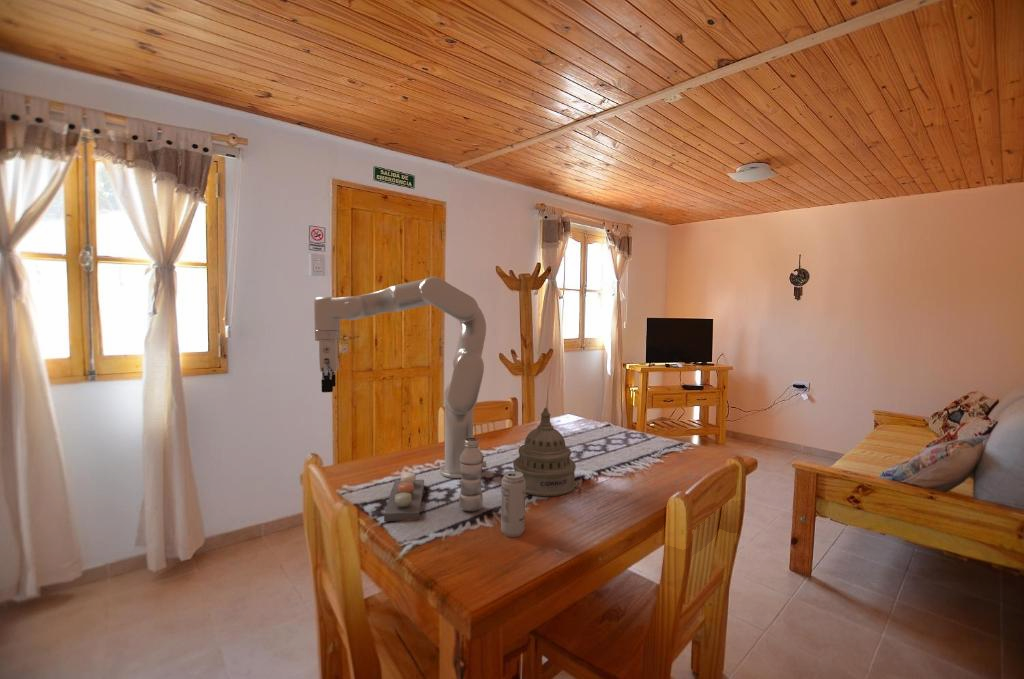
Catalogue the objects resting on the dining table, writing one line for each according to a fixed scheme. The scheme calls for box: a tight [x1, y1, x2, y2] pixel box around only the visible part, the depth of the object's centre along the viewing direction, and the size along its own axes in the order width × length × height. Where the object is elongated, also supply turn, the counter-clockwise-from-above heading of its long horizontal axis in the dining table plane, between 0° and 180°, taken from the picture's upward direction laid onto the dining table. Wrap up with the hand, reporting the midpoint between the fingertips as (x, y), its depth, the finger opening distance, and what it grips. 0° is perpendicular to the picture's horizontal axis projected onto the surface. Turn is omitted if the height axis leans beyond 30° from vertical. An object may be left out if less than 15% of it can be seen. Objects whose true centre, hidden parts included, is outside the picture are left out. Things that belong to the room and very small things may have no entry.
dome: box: [512, 407, 577, 497], centre depth 148 cm, size 20×25×20 cm
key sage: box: [395, 493, 411, 506], centre depth 126 cm, size 4×4×2 cm
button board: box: [383, 479, 425, 522], centre depth 134 cm, size 9×23×2 cm, turn 7°
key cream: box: [400, 472, 417, 483], centre depth 141 cm, size 4×4×2 cm
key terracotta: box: [398, 482, 414, 494], centre depth 134 cm, size 4×4×2 cm
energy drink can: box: [500, 470, 526, 538], centre depth 117 cm, size 6×6×15 cm
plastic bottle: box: [458, 437, 484, 512], centre depth 129 cm, size 6×7×20 cm
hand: (328, 389), depth 148 cm, fingers open, 9 cm apart
